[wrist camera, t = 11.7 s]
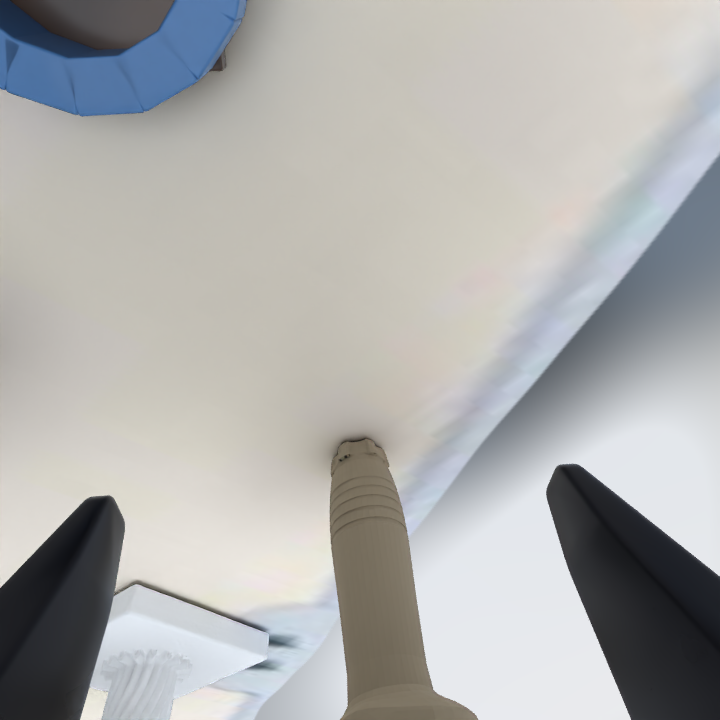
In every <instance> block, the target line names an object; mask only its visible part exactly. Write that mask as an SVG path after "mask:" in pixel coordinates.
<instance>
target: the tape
mask: <svg viewBox="0 0 720 720" xmlns="http://www.w3.org/2000/svg"><path fill="white" fill-rule="evenodd" d="M246 3H247V0H175V1H174V2H173V4H172V6H171V8H170V9H169V11H168V13H167V15H166V16H165V18H164V20H163V22H162V23H161V25H160V27H159V29H158V31H156V32H154V33H153V34H151V35H150V36H148V37H146V38H145V39H143V40H142V41H140V42H138V43H137V44H135V45H133V46H132V47H130V48H125V49H104V50H96V49H93V48H90V47H88V46H85V45H82V44H80V43H77V42H74V41H72V40H69V39H66V38H64V37H61V36H58V35H56V34H53V33H50V32H49V31H48V30H47V29H45V28H44V27H43V26H41V25H40V24H39V23H38V22H36V21H35V20H34V19H33V18H31V17H30V16H29V15H28V14H26V13H25V12H24V11H22V10H21V9H20V8H19V7H17V6H16V5H15V4H14V3H12V2H11V1H10V0H0V88H1V89H3V90H7V92H9V93H11V94H14V95H17V96H20V97H23V98H26V99H29V100H32V101H35V102H38V103H41V104H44V105H47V106H50V107H53V108H56V109H59V110H62V111H65V112H68V113H71V114H74V115H78V114H79V115H80V116H96V115H113V114H130V113H143V112H144V111H149V110H150V109H152V108H154V107H155V106H157V105H159V104H161V103H162V102H164V101H166V100H167V99H169V98H171V97H172V96H174V95H176V94H178V93H179V92H181V91H183V90H184V89H186V88H188V87H190V86H191V85H193V84H195V83H196V82H198V81H199V80H200V79H201V78H202V77H203V76H204V75H206V74H207V73H208V72H209V70H210V69H212V67H213V66H214V64H215V63H216V61H217V60H218V58H219V57H220V55H221V53H222V52H223V50H224V49H225V47H226V46H227V44H228V42H229V41H230V39H231V38H232V36H233V35H234V33H235V32H236V30H237V28H238V27H239V25H240V24H241V22H242V17H244V14H245V9H246Z"/></svg>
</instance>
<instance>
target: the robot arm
mask: <svg viewBox="0 0 720 720" xmlns="http://www.w3.org/2000/svg"><path fill="white" fill-rule="evenodd" d="M546 495H547V500H548V504H549V507H550V511H551V514H552V517H553V520H554V524H555V527H556V530H557V534H558V537H559V540H560V544H561V547H562V550H563V554H564V557H565V560H566V563H567V566H568V569H569V571H570V574H571V576H572V579H573V581H574V584H575V586H576V588H577V591H578V593H579V596H580V598H581V601H582V603H583V605H584V608H585V610H586V612H587V615H588V617H589V620H590V622H591V624H592V627H593V629H594V632H595V634H596V636H597V639H598V641H599V644H600V646H601V648H602V651H603V653H604V655H605V658H606V660H607V663H608V665H609V667H610V670H611V672H612V675H613V677H614V679H615V682H616V684H617V686H618V689H619V691H620V694H621V696H622V698H623V701H624V703H625V706H626V708H627V710H628V713H629V715H630V717H631V720H720V576H718V575H717V574H716V573H715V572H713V571H712V570H711V569H710V568H708V567H707V566H706V565H705V564H703V563H702V562H701V561H700V560H698V559H697V558H696V557H694V556H693V555H692V554H691V553H689V552H688V551H687V550H685V549H684V548H683V547H682V546H681V545H679V544H678V543H677V542H675V541H674V540H673V539H672V538H671V537H669V536H668V535H667V534H665V533H664V532H663V531H662V530H661V529H659V528H658V527H657V526H655V525H654V524H653V523H652V522H650V521H649V520H648V519H647V518H645V517H644V516H643V515H642V514H640V513H639V512H638V511H637V510H635V509H634V508H633V507H632V506H630V505H629V504H627V502H625V501H624V500H623V499H622V498H620V497H619V496H618V495H617V494H615V493H614V492H613V491H611V490H610V489H609V488H608V487H606V486H605V485H604V484H603V483H601V482H600V481H599V480H598V479H596V478H595V477H594V476H593V475H591V474H590V473H589V472H588V471H586V470H585V469H584V468H583V467H581V466H579V465H577V464H563V465H559V466H557V467H556V469H555V471H554V473H553V475H552V478H551V480H550V482H549V484H548V487H547V491H546ZM124 532H125V522H124V519H123V516H122V514H121V512H120V510H119V508H118V506H117V504H116V502H115V500H114V498H113V497H111V496H93V497H89V498H88V499H86V500H85V501H84V502H83V503H82V504H81V505H80V506H79V507H78V508H77V509H76V510H75V511H74V512H73V513H72V514H71V515H70V516H69V517H68V518H67V519H66V520H65V521H64V522H63V523H62V525H61V526H60V527H59V528H58V529H57V530H56V531H55V532H54V533H53V534H52V535H51V536H50V537H49V538H48V539H47V540H46V541H45V542H44V543H43V544H42V545H41V546H40V547H39V548H38V549H37V551H36V552H35V553H34V554H33V555H32V556H31V557H30V558H29V559H28V560H27V561H26V562H25V563H24V564H23V565H22V566H21V567H20V568H19V569H18V570H17V571H16V572H15V573H14V574H13V575H12V576H11V578H10V579H9V580H8V581H7V582H6V583H5V584H4V585H3V586H2V587H1V588H0V720H80V718H81V714H82V711H83V707H84V704H85V700H86V697H87V693H88V690H89V686H90V683H91V679H92V676H93V672H94V669H95V665H96V662H97V658H98V655H99V651H100V648H101V644H102V641H103V637H104V634H105V630H106V627H107V623H108V619H109V615H110V612H111V607H112V602H113V597H114V591H115V585H116V579H117V573H118V567H119V562H120V556H121V550H122V544H123V538H124Z"/></svg>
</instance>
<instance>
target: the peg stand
mask: <svg viewBox="0 0 720 720" xmlns="http://www.w3.org/2000/svg"><path fill="white" fill-rule="evenodd" d="M10 1H11V2H12V3H14V4H15V5H16V6H17V7H19V8H20V9H21V10H22V11H24V12H25V13H26V14H28V15H29V16H30V17H31V18H33V19H34V20H35V21H36V22H38V23H39V24H40V25H41V26H43V27H44V28H45V29H47V30H48V31H49V32H50V33H53V34H56V35H58V36H61V37H64V38H66V39H69V40H72V41H74V42H77V43H80V44H82V45H85V46H88V47H90V48H93V49H96V50H104V49H125V48H130V47H132V46H133V45H135V44H137V43H138V42H140V41H142V40H143V39H145V38H146V37H148V36H150V35H151V34H153V33H154V32H156V31H158V29H159V27H160V25H161V23H162V22H163V20H164V18H165V16H166V15H167V13H168V11H169V9H170V8H171V6H172V4H173V2H174V1H175V0H10ZM225 68H226V59H225V51H224V50H223V52H222V53H221V55H220V57H219V58H218V60H217V61H216V63H215V64H214V66H213V67H212V69H210V70H209V71H222V70H224V69H225Z"/></svg>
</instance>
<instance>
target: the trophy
mask: <svg viewBox="0 0 720 720" xmlns="http://www.w3.org/2000/svg"><path fill="white" fill-rule="evenodd" d="M268 643H269V634H268V633H266V632H263V631H260V630H257V629H255V628H252V627H249V626H247V625H244V624H241V623H239V622H236V621H233V620H231V619H228V618H226V617H223V616H221V615H218V614H215V613H213V612H210V611H207V610H205V609H202V608H199V607H197V606H195V605H192V604H189V603H186V602H183V601H181V600H178V599H176V598H173V597H170V596H167V595H165V594H162V593H159V592H157V591H154V590H151V589H149V588H146V587H143V586H141V585H137V584H136V585H133V586H131V587H129V588H127V589H126V590H124V591H122V592H120V593H119V594H117V595H115V596H114V597H113V602H112V607H111V612H110V615H109V619H108V623H107V627H106V630H105V634H104V637H103V641H102V644H101V648H100V651H99V655H98V658H97V662H96V665H95V669H94V672H93V676H92V679H91V683H90V686H89V687H90V688H94V689H98V690H102V691H106V692H109V693H108V697H107V700H106V704H105V707H104V711H103V716H102V719H101V720H169V719H170V715H171V710H172V704H173V700H174V699H177V698H179V697H181V696H183V695H186V694H188V693H191V692H193V691H195V690H197V689H200V688H202V687H204V686H206V685H209V684H211V683H213V682H216V681H218V680H220V679H223V678H225V677H227V676H229V675H232V674H234V673H236V672H239V671H241V670H243V669H246V668H248V667H250V666H253V665H255V664H258V663H260V662H262V661H264V660H266V659H267V658H268Z"/></svg>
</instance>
